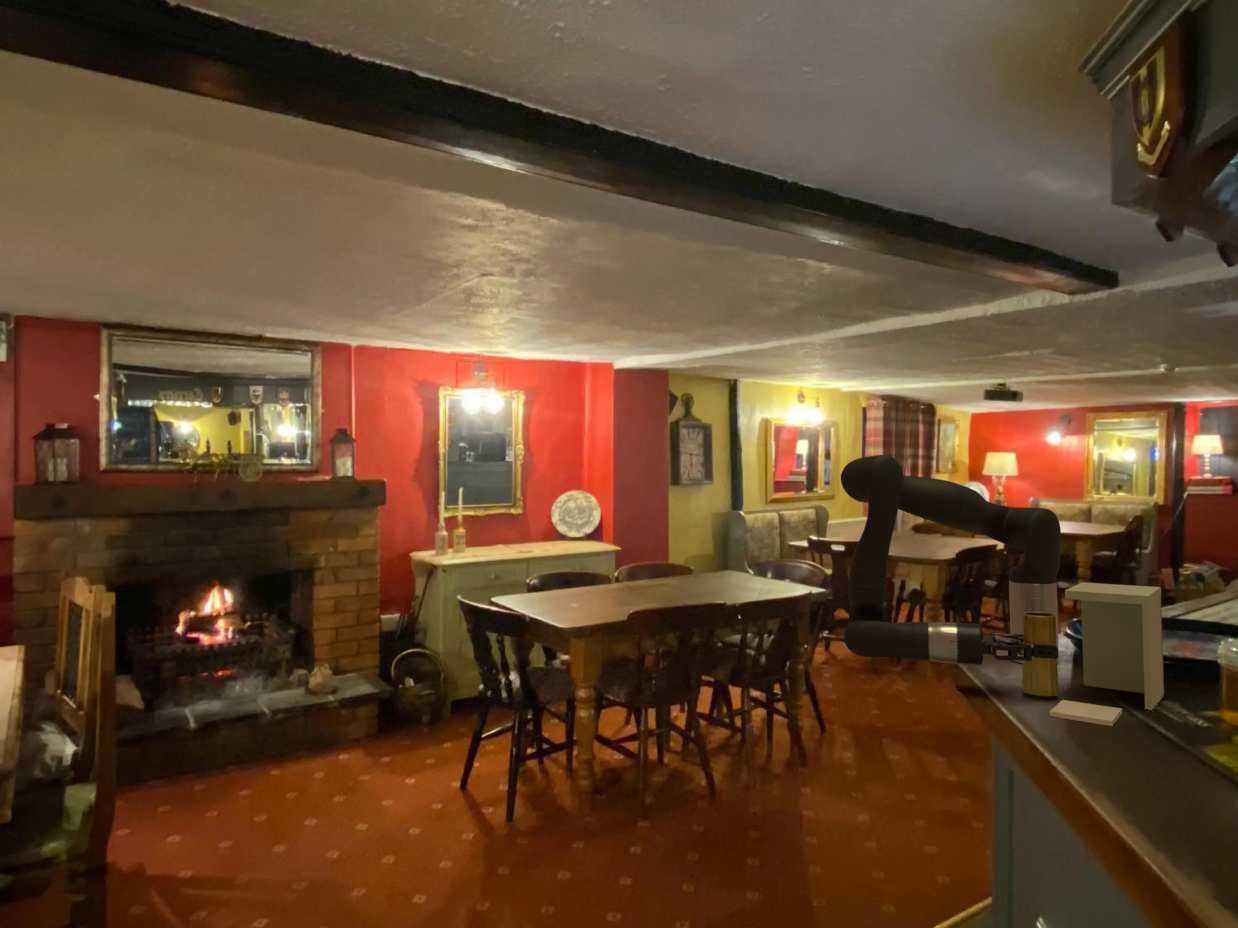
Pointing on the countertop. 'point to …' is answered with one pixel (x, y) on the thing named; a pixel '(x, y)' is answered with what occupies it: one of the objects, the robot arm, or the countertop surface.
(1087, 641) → the shelf nook
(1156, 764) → the countertop surface
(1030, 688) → the vase
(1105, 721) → the tile
